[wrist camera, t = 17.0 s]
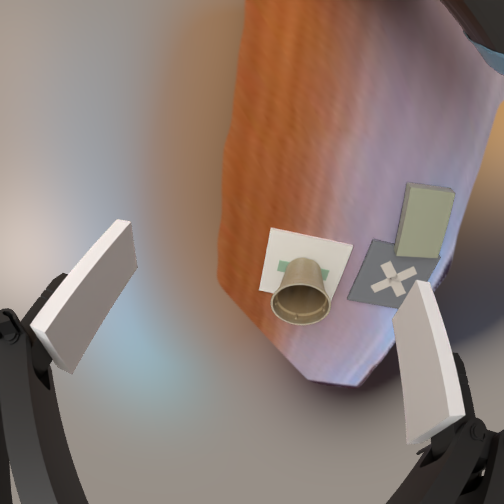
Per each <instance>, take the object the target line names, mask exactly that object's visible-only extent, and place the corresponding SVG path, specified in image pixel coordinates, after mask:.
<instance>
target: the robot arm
mask: <svg viewBox="0 0 504 504" xmlns="http://www.w3.org/2000/svg"><path fill="white" fill-rule="evenodd" d="M440 1H441V2H442V3H443V4H444V5H445V7H446V8H447V9H448V10H449V12H450V13H451V14H452V15H453V17H454V18H455V19H456V21H457V22H458V23H459V25H460V26H461V27H462V29H463V32H464V34H465V36H466V37H467V39H468V40H469V41H471V42H472V43H473V44H474V45H475V47H476V48H477V50H478V51H479V53H480V54H481V55H482V57H483V58H484V60H485V61H486V63H487V64H488V65H489V66H490V67H492V68H493V69H494V70H496V71H497V72H498V73H500V74H502V75H504V0H440ZM137 268H138V266H137V260H136V254H135V247H134V240H133V233H132V225H131V222H129V221H124V220H119V219H117V220H116V221H115V222H114V223H113V224H112V225H111V226H110V228H109V229H108V230H107V231H106V232H105V233H104V234H103V235H102V236H101V237H100V238H99V240H98V241H97V242H96V243H95V244H94V245H93V246H92V247H91V249H90V250H89V251H88V252H87V253H86V254H85V255H84V257H83V258H82V259H81V260H80V261H79V262H78V264H77V265H76V266H75V267H74V268H73V270H72V271H71V272H70V273H69V274H65V273H62V274H61V275H59V276H58V277H56V278H55V279H53V280H52V282H51V283H50V284H49V286H48V287H47V288H46V290H44V292H43V293H42V294H41V297H39V298H38V299H37V301H36V302H35V303H34V304H33V306H32V307H31V308H30V310H29V311H28V312H27V314H26V315H25V317H24V318H23V319H22V321H21V322H20V320H19V319H18V317H17V315H16V314H15V312H14V311H13V310H11V309H9V308H7V309H2V310H0V504H13V503H12V495H11V484H10V466H9V461H10V465H11V469H12V474H13V477H14V481H15V485H16V488H17V492H18V495H19V498H20V502H21V504H88V501H87V499H86V497H85V494H84V491H83V489H82V486H81V483H80V481H79V478H78V476H77V472H76V469H75V467H74V464H73V460H72V457H71V454H70V451H69V448H68V444H67V440H66V437H65V433H64V429H63V425H62V421H61V417H60V412H59V408H58V403H57V398H56V393H55V387H54V382H53V376H52V370H51V367H50V363H51V362H52V360H53V361H54V363H55V364H56V365H57V367H58V368H60V369H62V370H64V371H66V372H68V373H70V374H73V372H74V370H75V369H76V366H77V365H78V363H79V361H80V360H81V358H82V356H83V354H84V352H85V351H86V349H87V347H88V346H89V344H90V342H91V340H92V339H93V337H94V335H95V334H96V332H97V330H98V328H99V327H100V325H101V324H102V322H103V320H104V319H105V317H106V316H107V314H108V312H109V311H110V309H111V308H112V306H113V304H114V303H115V301H116V300H117V298H118V297H119V295H120V294H121V292H122V290H123V289H124V287H125V286H126V284H127V283H128V281H129V279H130V278H131V277H132V275H133V274H134V272H135V271H136V269H137ZM392 322H393V328H394V333H395V339H396V345H397V351H398V358H399V365H400V372H401V381H402V389H403V397H404V409H405V421H406V437H407V444H417V443H423V442H425V441H426V440H428V439H430V438H431V444H430V445H428V446H427V447H425V448H423V449H421V450H419V451H418V452H417V453H416V454H417V455H419V454H421V453H423V452H424V453H423V454H422V456H421V457H420V459H419V460H418V462H417V463H416V465H415V466H414V468H413V469H412V470H411V472H410V473H409V475H408V476H407V477H406V479H405V480H404V481H403V483H402V484H401V485H400V487H399V488H398V489H397V491H396V492H395V493H394V494H393V496H392V497H391V498H390V499H389V500H388V502H387V503H386V504H504V430H502V431H501V432H499V433H496V432H493V431H490V430H487V429H486V426H485V424H484V423H483V421H482V420H480V419H478V418H476V417H475V413H474V407H473V402H472V397H471V392H470V388H469V385H468V379H467V376H466V371H465V367H464V363H463V361H462V360H461V358H460V356H459V355H458V353H452V351H451V347H450V344H449V340H448V337H447V333H446V330H445V327H444V323H443V320H442V317H441V314H440V311H439V308H438V305H437V302H436V299H435V296H434V293H433V291H432V288H431V285H430V282H425V281H420V280H416V281H415V283H414V285H413V286H412V288H411V290H410V291H409V293H408V295H407V296H406V298H405V300H404V301H403V303H402V304H401V306H400V308H399V309H398V311H397V312H396V314H395V316H394V317H393V319H392ZM483 470H485V473H484V476H481V474H482V471H483Z"/></svg>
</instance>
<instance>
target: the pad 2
mask: <svg viewBox="0 0 504 504" xmlns="http://www.w3.org/2000/svg"><path fill="white" fill-rule="evenodd" d="M394 246H395V244H393V243H388V242H384V241H380V240H376V239H373V240H372V242H371V244H370V247H369V249H368V252H367V254H366V256H365V259H364V261H363V263H362V266H361V268H360V270H359V273H358V275H357V277H356V279H355V281H354V284H353V286H352V288H351V290H350V292H349V295H348V297H347V300H352V301H357V302H363V303H369V304H374V305H380V306H386V307H392V308H397V309H399V308H400V306H401V304H402V303H403V301H404V300H405V298H406V296H407V295H408V293H409V291H410V290H411V288H412V286H413V285H414V283H415V281H416V280H420V281H425V282H427V281H428V279H429V277H430V275H431V274H432V272H433V270H434V269H435V267H436V265H437V263H438V261H439V260H440V258H441V257H440V255H438V258H425V257H408V256H396V254H395V251H394Z"/></svg>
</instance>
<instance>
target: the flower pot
mask: <svg viewBox="0 0 504 504" xmlns="http://www.w3.org/2000/svg"><path fill="white" fill-rule="evenodd" d="M271 308H272V311H273V312H274V314H275V315H276V316H277V317H278V318H280V319H281V320H283V321H285V322H287V323H290V324H294V325H311V324H314V323H317V322H319V321H321V320H322V319H324V318H325V317H326V316H327V315H328V313H329V312H330V309H331V301H330V298H329V296H328V295H327V293H326V291H325V288H324V283H323V278H322V273H321V268H320V266H319V264H318V263H317V262H315V261H314V260H312V259H307V258H297V259H294V260H292V261H291V262H290V263H289V264H288V265H287V267H286V271H285V273H284V276H283V279H282V282H281V284H280V287H279V288H278V289H277V290H276V291H275V293H274V294H273V296H272V298H271Z"/></svg>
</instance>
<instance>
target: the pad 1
mask: <svg viewBox="0 0 504 504" xmlns="http://www.w3.org/2000/svg"><path fill="white" fill-rule="evenodd" d="M352 248H353V245H352V244H347V243H343V242H338V241H333V240H329V239H324V238H319V237H314V236H310V235H305V234H300V233H295V232H290V231H286V230H281V229H276V228H271V230H270V235H269V240H268V246H267V251H266V256H265V262H264V267H263V272H262V277H261V283H260V288H259V290H260V291H265V292H270V293H275V291H276V290H277V289H278V288H279V287H280V284H281V282H282V279H283V276H284V273H285V271H286V267H287V265H288V264H289V263H290V262H291V261H292V260H294V259H297V258H307V259H312V260H314V261H315V262H317V263H318V264H319V266H320V268H321V273H322V278H323V283H324V288H325V291H326V293H327V295H328V296H329V298H330V301H331V300H332V297H333V295H334V293H335V290H336V288H337V286H338V283H339V281H340V278H341V276H342V273H343V271H344V269H345V266H346V264H347V261H348V258H349V256H350V253H351V251H352Z"/></svg>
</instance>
